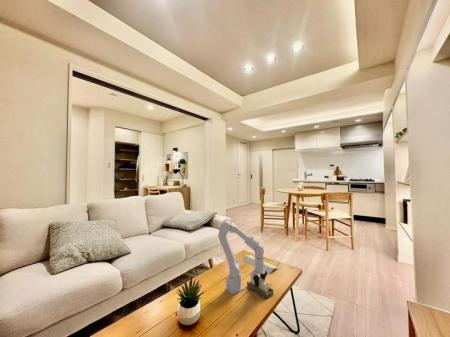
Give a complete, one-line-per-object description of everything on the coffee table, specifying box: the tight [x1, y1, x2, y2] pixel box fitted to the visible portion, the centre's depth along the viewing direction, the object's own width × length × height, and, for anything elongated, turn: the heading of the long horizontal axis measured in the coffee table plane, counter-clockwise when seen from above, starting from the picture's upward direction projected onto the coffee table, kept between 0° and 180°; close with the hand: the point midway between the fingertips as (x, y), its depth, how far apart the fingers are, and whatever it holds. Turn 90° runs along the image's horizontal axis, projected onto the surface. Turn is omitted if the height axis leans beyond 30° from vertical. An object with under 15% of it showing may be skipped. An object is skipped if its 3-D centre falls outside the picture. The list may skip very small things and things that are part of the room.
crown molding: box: [241, 254, 280, 275], centre depth 154 cm, size 29×12×4 cm, turn 39°
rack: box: [246, 280, 274, 300], centre depth 120 cm, size 7×16×3 cm, turn 37°
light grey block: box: [250, 277, 270, 294], centre depth 120 cm, size 4×12×6 cm, turn 37°
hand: (259, 284), depth 120 cm, fingers open, 5 cm apart
